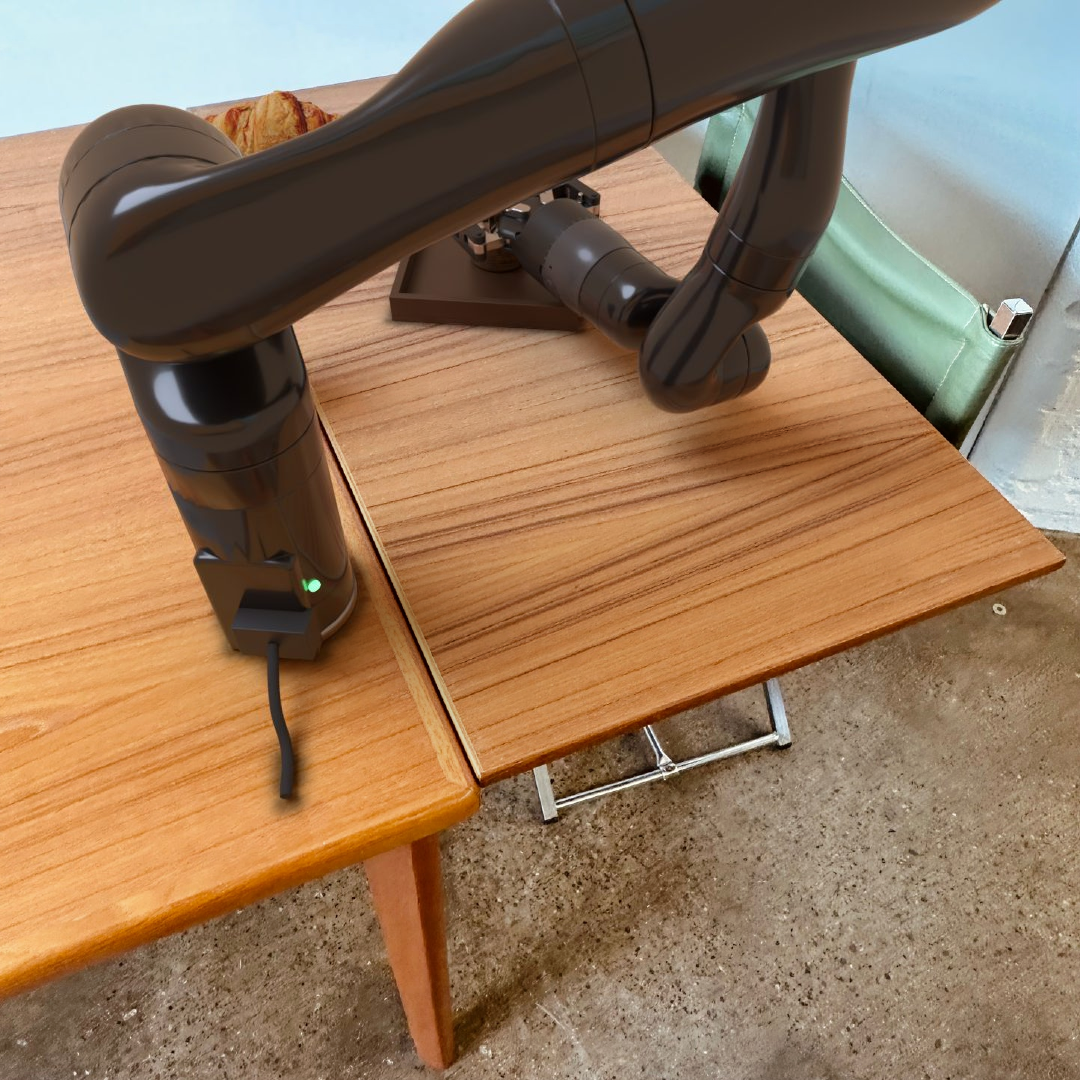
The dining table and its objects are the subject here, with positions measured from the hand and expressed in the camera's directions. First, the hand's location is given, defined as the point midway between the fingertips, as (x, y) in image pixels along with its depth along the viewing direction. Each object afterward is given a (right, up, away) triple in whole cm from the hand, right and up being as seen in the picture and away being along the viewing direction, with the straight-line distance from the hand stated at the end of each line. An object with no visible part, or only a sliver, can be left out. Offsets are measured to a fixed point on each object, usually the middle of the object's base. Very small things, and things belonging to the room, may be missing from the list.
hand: (482, 180), depth 88 cm
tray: (+1, -6, +5) cm, 8 cm away
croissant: (-25, +11, +20) cm, 34 cm away
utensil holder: (+1, -6, +4) cm, 8 cm away
